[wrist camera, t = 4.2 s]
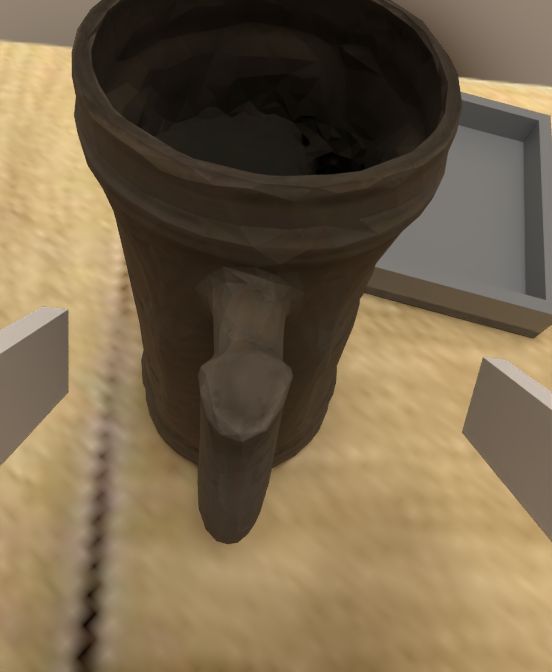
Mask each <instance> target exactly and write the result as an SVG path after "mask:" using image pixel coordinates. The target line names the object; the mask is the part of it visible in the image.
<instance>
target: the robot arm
mask: <svg viewBox="0 0 552 672" xmlns="http://www.w3.org/2000/svg"><path fill="white" fill-rule="evenodd" d="M67 393H68V309H61V308H52V307H44V306H42V307H40V308H39V309H37V310H35V311H33V312H32V313H30V314H28V315H26V316H24V317H23V318H21V319H19V320H17V321H15V322H14V323H12V324H10V325H8V326H7V327H5V328H3V329H1V330H0V466H1V465H2V464H3V463H4V462H5V460H6V459H7V458H8V457H9V456H10V455H11V454H12V453H13V452H14V451H15V450H16V448H17V447H18V446H19V445H20V444H21V443H22V442H23V441H24V440H25V439H26V438H27V437H28V435H29V434H30V433H31V432H32V431H33V430H34V429H35V428H36V427H37V426H38V425H39V423H40V422H41V421H42V420H43V419H44V418H45V417H46V416H47V415H48V414H49V413H50V412H51V410H52V409H53V408H54V407H55V406H56V405H57V404H58V403H59V402H60V401H61V400H62V398H63V397H64V396H65V395H66V394H67ZM462 433H463V434H464V435H465V437H466V438H467V439H468V440H469V442H470V443H471V444H472V445H473V446H474V448H475V449H476V450H477V451H478V453H479V454H480V455H481V456H482V457H483V459H484V460H485V461H486V462H487V464H488V465H489V466H490V467H491V468H492V470H493V471H494V472H495V473H496V475H497V476H498V477H499V478H500V479H501V481H502V482H503V483H504V484H505V486H506V487H507V488H508V489H509V490H510V492H511V493H512V494H513V495H514V496H515V498H516V499H517V500H518V501H519V503H520V504H521V505H522V506H523V507H524V509H525V510H526V511H527V512H528V514H529V515H530V516H531V517H532V518H533V520H534V521H535V522H536V523H537V525H538V526H539V527H540V528H541V529H542V531H543V532H544V533H545V534H546V536H547V537H548V538H549V539H550V540H551V542H552V392H551V391H549V390H548V389H546V388H545V387H544V386H542V385H541V384H539V383H538V382H537V381H535V380H534V379H532V378H531V377H529V376H528V375H527V374H525V373H524V372H522V371H521V370H520V369H518V368H517V367H515V366H514V365H513V364H511V363H510V362H508V361H507V360H504V359H496V358H487V357H483V359H482V363H481V366H480V370H479V373H478V377H477V381H476V384H475V388H474V391H473V395H472V398H471V402H470V406H469V409H468V413H467V416H466V420H465V423H464V427H463V431H462Z"/></svg>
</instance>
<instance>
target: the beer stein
mask: <svg viewBox="0 0 552 672" xmlns="http://www.w3.org/2000/svg"><path fill="white" fill-rule="evenodd" d="M72 79H73V84H74V89H75V94H76V102H75V112H74V117H75V122H76V127H77V132H78V136H79V139H80V142H81V146H82V149H83V152H84V155H85V158H86V162H87V165H88V166H89V168H90V170H91V171H92V173H93V174H94V176H95V177H96V179H97V180H98V182H99V183H100V185H101V186H102V188H103V190H104V192H105V194H106V196H107V198H108V200H109V203H110V205H111V207H112V209H113V211H114V215H115V218H116V222H117V226H118V231H119V235H120V239H121V243H122V248H123V252H124V256H125V260H126V265H127V269H128V273H129V278H130V282H131V287H132V291H133V296H134V300H135V305H136V309H137V313H138V318H139V323H140V329H141V335H142V342H143V348H144V351H143V355H142V376H143V384H144V386H145V389H146V401H147V405H148V409H149V413H150V416H151V418H152V420H153V422H154V424H155V426H156V428H157V430H158V432H159V434H160V435H161V436H162V437H163V439H164V440H165V441H166V442H167V443H168V444H169V445H170V446H171V447H172V448H173V449H174V450H175V451H177V452H178V453H179V454H181V455H182V456H184V457H186V458H187V459H189V460H191V461H193V462H195V463H196V464H198V500H199V510H200V513H201V516H202V519H203V522H204V525H205V528H206V530H207V531H208V532H209V533H210V534H211V535H212V537H213V538H214V539H215V540H216V541H218V542H222V543H226V544H232V543H237V542H239V541H240V540H241V539H242V538H244V537H245V536H246V535H247V534H248V533H249V531H250V530H251V528H252V527H253V525H254V524H255V522H256V520H257V518H258V515H259V513H260V510H261V507H262V504H263V500H264V497H265V494H266V490H267V487H268V483H269V479H270V474H271V469H272V467H274V466H276V465H278V464H280V463H282V462H284V461H286V460H288V459H289V458H291V457H293V456H295V455H296V454H297V453H298V452H299V451H300V450H301V449H302V448H304V447H305V446H306V445H307V444H308V443H309V442H310V441H311V440H312V438H313V437H314V436H315V434H316V433H317V432H318V430H319V429H320V426H321V424H322V421H323V419H324V417H325V414H326V412H327V409H328V404H329V401H330V399H331V397H332V395H333V392H334V388H335V384H336V373H337V364H338V362H339V359H340V357H341V354H342V352H343V350H344V347H345V345H346V342H347V340H348V338H349V335H350V333H351V331H352V328H353V326H354V322H355V319H356V315H357V311H358V308H359V304H360V298H361V296H362V295H363V293H364V290H365V288H366V286H367V284H368V282H369V280H370V278H371V276H372V274H373V272H374V269H375V265H376V263H377V262H378V261H379V259H380V258H381V257H382V256H383V255H384V253H385V252H386V251H387V250H388V248H389V247H390V246H391V245H392V243H393V242H394V241H395V240H396V239H397V237H398V236H399V235H400V234H401V232H402V231H403V230H404V229H406V228H407V227H408V226H409V225H410V224H411V223H412V222H414V221H415V220H416V219H417V218H418V217H419V216H420V215H421V214H422V213H423V211H424V210H425V208H426V207H427V206H428V204H429V203H430V202H431V200H432V199H433V197H434V195H435V193H436V191H437V189H438V187H439V185H440V182H441V180H442V178H443V176H444V174H445V169H446V163H447V156H448V152H449V149H450V147H451V145H452V142H453V140H454V138H455V135H456V133H457V129H458V124H459V120H460V115H461V110H462V105H463V104H462V98H461V92H460V86H459V79H458V74H457V71H456V69H455V67H454V65H453V63H452V61H451V59H450V57H449V56H448V54H447V53H446V52H445V50H444V49H443V47H442V46H441V45H440V43H439V42H438V41H437V39H435V37H434V35H433V34H432V33H431V32H430V30H429V29H428V28H427V26H426V25H425V24H424V22H423V21H422V20H420V19H419V18H417V17H416V16H414V15H413V14H411V13H410V12H408V11H407V10H405V9H404V8H402V7H400V6H399V5H397V4H396V3H394V2H393V1H391V0H101V1H100V2H99V3H98V4H97V5H95V6H94V7H93V8H92V9H91V10H90V11H89V13H88V14H87V16H86V17H85V19H84V20H83V22H82V23H81V24H80V26H79V28H78V29H77V33H76V37H75V41H74V46H73V49H72Z"/></svg>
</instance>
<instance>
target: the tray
mask: <svg viewBox="0 0 552 672" xmlns="http://www.w3.org/2000/svg"><path fill="white" fill-rule="evenodd" d="M461 98H462V104H463V105H462V110H461V115H460V120H459V124H458V129H457V133H456V135H455V138H454V140H453V142H452V145H451V147H450V149H449V152H448V156H447V163H446V169H445V174H444V176H443V178H442V180H441V182H440V185H439V187H438V189H437V191H436V193H435V195H434V197H433V199H432V200H431V202H430V203H429V204H428V206H427V207H426V208H425V210H424V211H423V213H422V214H421V215H420V216H419V217H418V218H417V219H416V220H415V221H414V222H412V223H411V224H410V225H409V226H408V227H407V228H406V229H404V230H403V231H402V232H401V234H400V235H399V236H398V237H397V239H396V240H395V241H394V242H393V243H392V245H391V246H390V247H389V248H388V250H387V251H386V252H385V253H384V255H383V256H382V257H381V258H380V259H379V261H378V262H377V263H376V265H375V269H374V272H373V274H372V276H371V278H370V280H369V282H368V284H367V286H366V288H365V290H364V293H368V294H371V295H375V296H379V297H382V298H386V299H390V300H394V301H397V302H401V303H405V304H408V305H412V306H416V307H419V308H423V309H427V310H431V311H434V312H438V313H442V314H445V315H449V316H453V317H457V318H460V319H464V320H468V321H471V322H475V323H479V324H482V325H486V326H490V327H494V328H497V329H501V330H505V331H508V332H512V333H516V334H520V335H523V336H527V337H531V338H535V337H536V336H537V335H539V334H540V333H541V332H543V331H544V330H545V329H547V328H548V327H549V326H551V325H552V135H551V118H550V116H549V115H545V114H542V113H538V112H534V111H530V110H527V109H523V108H519V107H515V106H512V105H508V104H504V103H500V102H497V101H493V100H489V99H485V98H482V97H478V96H474V95H470V94H467V93H463V92H461Z"/></svg>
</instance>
